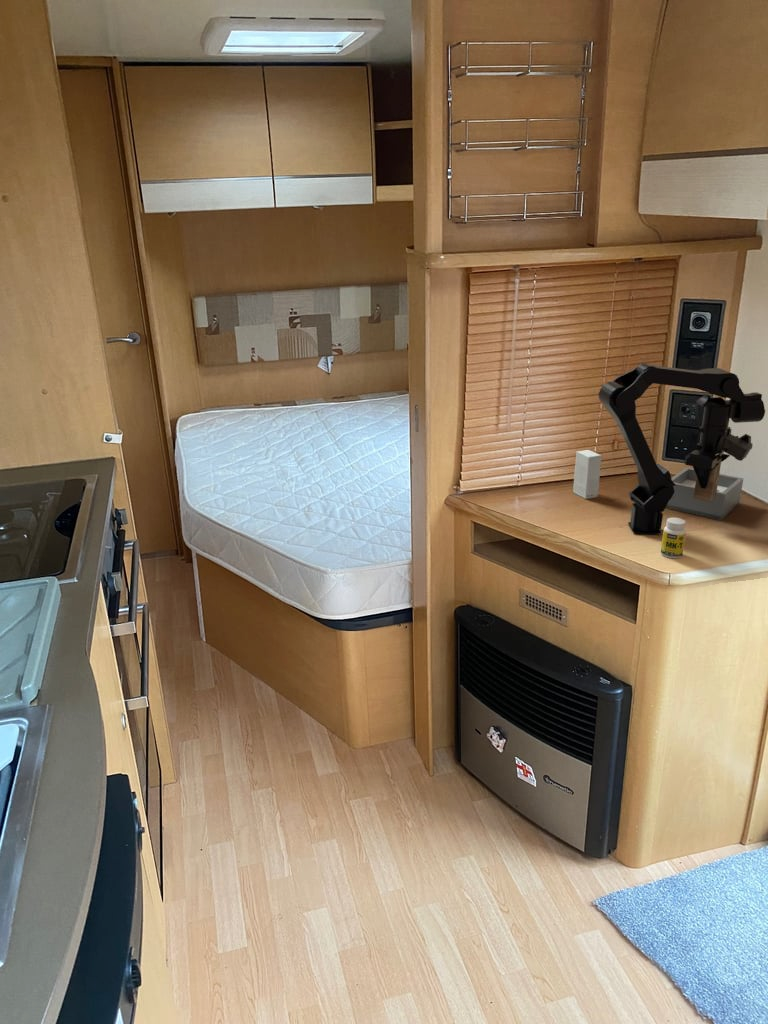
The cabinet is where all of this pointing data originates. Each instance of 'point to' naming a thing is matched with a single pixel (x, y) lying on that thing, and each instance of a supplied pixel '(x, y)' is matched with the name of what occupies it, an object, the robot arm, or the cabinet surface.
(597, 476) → the skincare box
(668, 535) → the supplement bottle
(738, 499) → the peg socket
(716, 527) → the cabinet surface
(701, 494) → the walnut peg
